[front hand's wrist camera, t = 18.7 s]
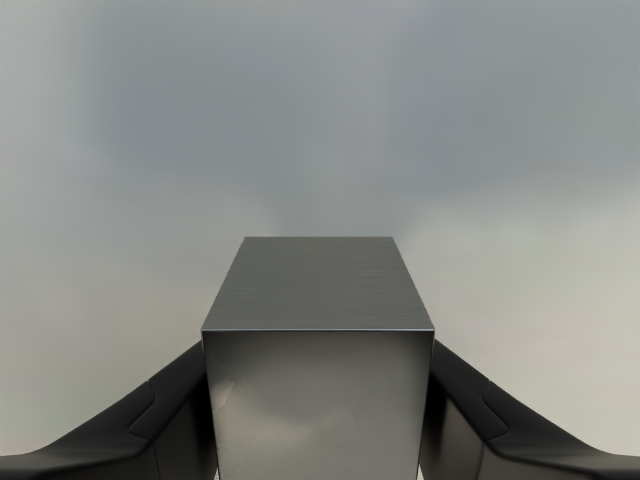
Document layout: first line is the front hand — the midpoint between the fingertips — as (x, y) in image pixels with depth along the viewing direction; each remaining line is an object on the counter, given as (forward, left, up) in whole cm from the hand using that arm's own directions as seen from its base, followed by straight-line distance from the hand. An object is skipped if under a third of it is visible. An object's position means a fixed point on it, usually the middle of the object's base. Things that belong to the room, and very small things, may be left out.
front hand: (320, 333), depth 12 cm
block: (0, 0, -1) cm, 1 cm away
